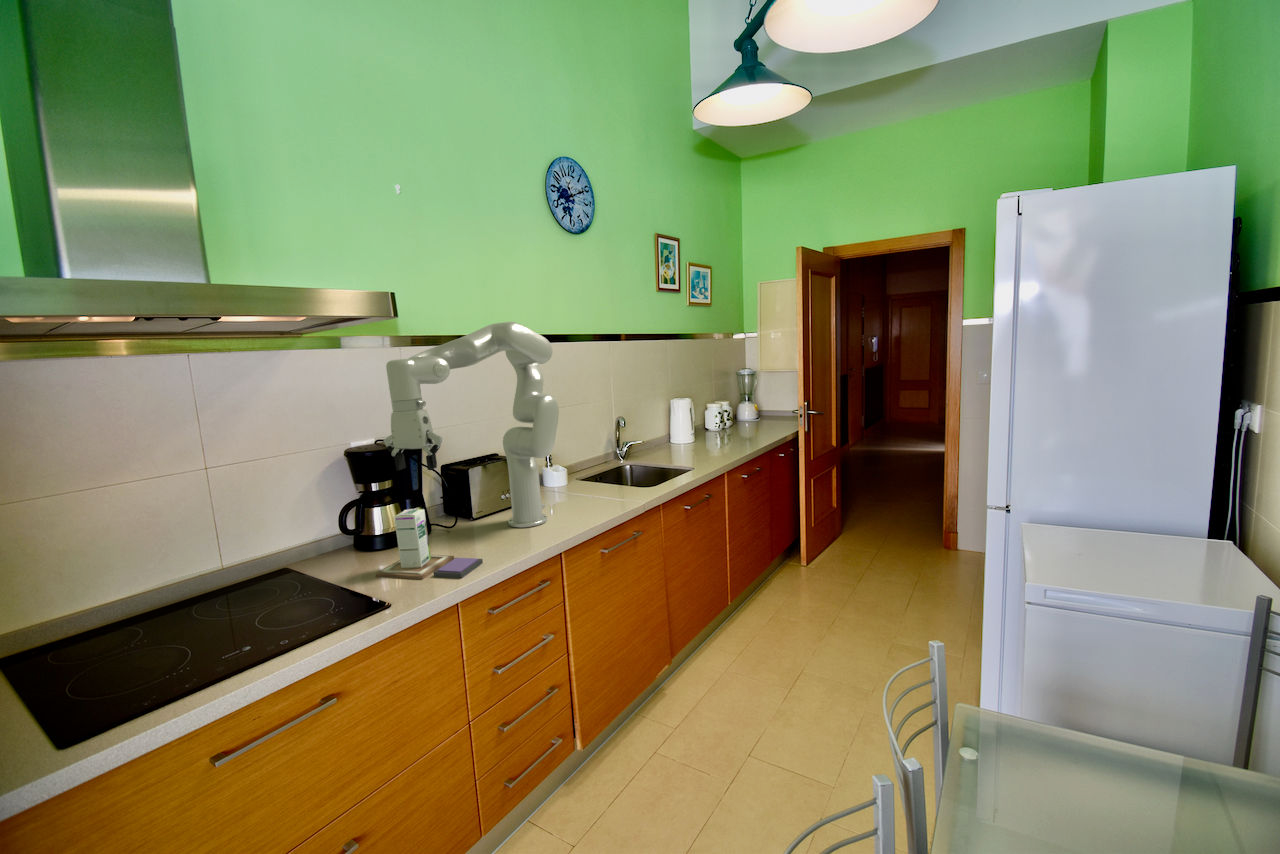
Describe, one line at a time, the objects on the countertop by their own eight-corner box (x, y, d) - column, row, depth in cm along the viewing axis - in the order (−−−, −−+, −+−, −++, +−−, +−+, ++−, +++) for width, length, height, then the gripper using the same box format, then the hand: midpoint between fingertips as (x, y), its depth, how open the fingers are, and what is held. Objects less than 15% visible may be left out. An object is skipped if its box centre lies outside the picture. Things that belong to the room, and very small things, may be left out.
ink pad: (433, 576, 142) (433, 571, 142) (456, 561, 152) (455, 556, 151) (461, 578, 140) (461, 572, 140) (482, 563, 149) (482, 557, 149)
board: (410, 556, 158) (410, 552, 158) (454, 558, 154) (453, 554, 154) (375, 576, 144) (375, 572, 144) (422, 579, 141) (421, 575, 140)
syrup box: (421, 567, 146) (415, 514, 144) (400, 568, 147) (393, 515, 145) (431, 559, 152) (425, 508, 150) (410, 560, 152) (404, 508, 150)
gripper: (444, 402, 149) (453, 465, 151) (389, 405, 153) (398, 466, 156) (427, 407, 141) (436, 472, 144) (369, 409, 146) (379, 473, 149)
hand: (416, 469), depth 150 cm, fingers open, 9 cm apart
